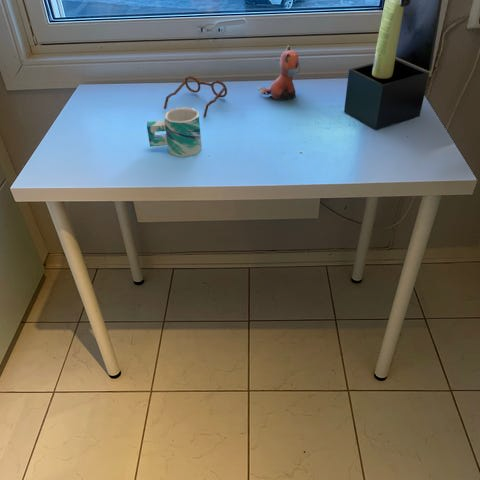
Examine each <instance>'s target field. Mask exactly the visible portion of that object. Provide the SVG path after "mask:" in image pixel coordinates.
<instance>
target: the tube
mask: <svg viewBox="0 0 480 480" xmlns="http://www.w3.org/2000/svg"><path fill="white" fill-rule="evenodd" d="M399 1H400V0H384V4H383V10H382V15H381V20H380V25H379V31H378V36H377V42H376V46H375V47H376V48H375V53H374V60H373V63H374V64H373V70H372V75H373V76H374V77H376V78H380V79H387V78H390V77H392V74H393V69H394V63H395V58H396V59H397V57H396V52H397V46H398V40H399V33H400V27H401V21H402V15H403V8H404V7H401V6H400V5H399Z"/></svg>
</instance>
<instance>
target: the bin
mask: <svg viewBox="0 0 480 480" xmlns="http://www.w3.org/2000/svg"><path fill="white" fill-rule="evenodd" d="M373 64H374V62H371V63H368V64H364V65H361V66H356V67H352V68H349V69H348V73H347V74H348V75H347V83H346V91H345V100H344V109H343V110H344V111H343V113H345V114H346V115H348V116H350V117H352V118H353V119H355V120H357V121H359V122H360V123H362V124H364V125H366V126H368V127H369V128H371V129H372V130H374V131H377V130H381V129H385V128H387V127H391V126H394V125H397V124H401V123H404V122H406V121H410V120H413V119H415V118H419V117H420V116H421V112H422V107H423V103H424V100H425V99H424V98H425V94H426V89H427V85H428V82H429V76H430V71H427V70H425V69H422V68H420V67H418V66H416V65H413V64H411V63H409V62H406V61H404V60H402V59H399V58H397V57H396V58H395V63H394V69H393V74H392V77H390V78H387V79H380V78H376V77H374V76H373V75H372V70H373Z"/></svg>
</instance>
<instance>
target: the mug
mask: <svg viewBox="0 0 480 480" xmlns="http://www.w3.org/2000/svg"><path fill="white" fill-rule="evenodd" d="M200 124H201V123H200V113H199V111H198V110H196V109H195V108H192V107H183V106H181V107H177V108H171V109H169V110H168V111H166V112H165V113H164V117H163V120H150V121H147V123H146V129H147V137H148V142H149V147H150V148H151V147H167V149H168V153H169V154H171V155H173V156H174V157H181V158H187V157H191V156H196V155H197V154H198V153H200V152H201V151H202V150H203V149H202V137H201V135H202V134H201V125H200ZM158 132H165V133H160V134H156V133H158Z"/></svg>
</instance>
